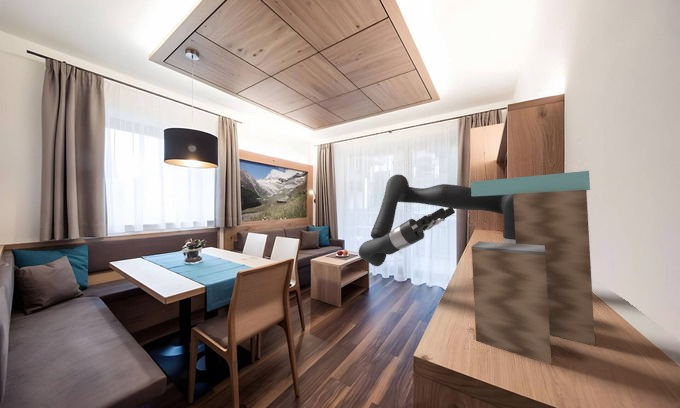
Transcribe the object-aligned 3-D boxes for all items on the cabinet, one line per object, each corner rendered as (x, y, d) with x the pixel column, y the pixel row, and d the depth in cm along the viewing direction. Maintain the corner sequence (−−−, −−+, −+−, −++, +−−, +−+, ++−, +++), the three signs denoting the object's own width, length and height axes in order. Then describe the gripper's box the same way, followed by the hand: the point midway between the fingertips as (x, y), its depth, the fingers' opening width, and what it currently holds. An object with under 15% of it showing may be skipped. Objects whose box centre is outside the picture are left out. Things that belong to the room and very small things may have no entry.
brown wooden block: (476, 340, 49) (471, 246, 49) (482, 325, 55) (478, 241, 55) (551, 364, 41) (545, 252, 41) (549, 343, 47) (544, 245, 47)
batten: (471, 196, 62) (470, 181, 62) (475, 196, 65) (474, 182, 65) (590, 189, 47) (589, 170, 47) (587, 190, 50) (586, 172, 50)
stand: (519, 326, 54) (513, 193, 54) (521, 315, 59) (515, 194, 59) (595, 345, 46) (586, 189, 46) (589, 330, 51) (581, 190, 51)
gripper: (390, 226, 72) (434, 199, 63) (409, 223, 83) (449, 199, 74) (402, 247, 70) (449, 222, 60) (420, 241, 80) (462, 219, 71)
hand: (449, 210), depth 67 cm, fingers open, 8 cm apart
